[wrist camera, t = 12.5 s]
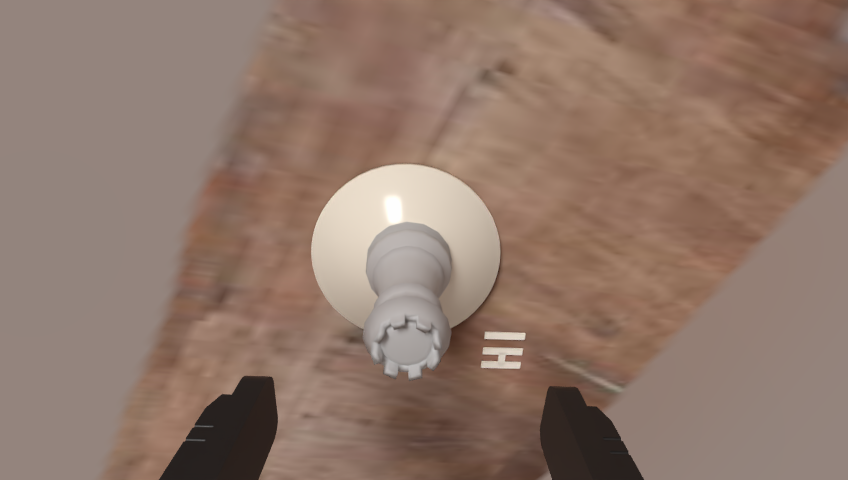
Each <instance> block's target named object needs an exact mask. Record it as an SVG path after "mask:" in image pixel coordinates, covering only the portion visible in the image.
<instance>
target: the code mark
mask: <svg viewBox="0 0 848 480" xmlns="http://www.w3.org/2000/svg"><path fill="white" fill-rule="evenodd" d="M484 339H504V340H525V333H513V332H485V336H484ZM522 352H523V348H494V347H483V353H482V354H490V355H499V356H498V361H481V368H508V369H520V365H521V362H506V361H505V356H506V355H522Z"/></svg>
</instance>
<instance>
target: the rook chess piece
mask: <svg viewBox="0 0 848 480" xmlns="http://www.w3.org/2000/svg"><path fill="white" fill-rule="evenodd" d="M451 263H452V258H451V253H450V249H449V245H448V244H447V243H446V241H445V240H444V239H443V237H442V236H441V235H440V234H439V232H437V231H435V230H434V229H432V228H430V227H428V226H426V225H425V224H420V223H413V222H403V223H399V224H395V225H391V226H389V227H387V228H386V229H384V230H383V231H382V232H380V233H379V234H378V235H376V236H375V238H374V240H373V241H372V243H371V245H370V247H369V248H368V252H367V262H366V275H367V278H368V281H369V284H370V286H371V289H372V290H373V291H374V293H375V294H376V295H377V296H378V299H377V300H376V302H375V303H374V309H373V310H372V312H371V313H370V315H369V317H368V318H367V320H366V321H365V323H364V331H363V340H364V343H365V345H366V348H367V351H368V353H369V354H370V355H371V357H372V359H373V362H374V365H375V364H378V363H380V364H382V365H384V371H383V374H385V375H387V376H389V377H391V378H393V379H396V377H397V374H398V371H401V372H409V381H411V380H415V379H420V378H422V369H425V368H427V367H429V368H430V369H431V370H433V371H434V370H435V368H436V367H437V366H438V364H439V363H440V362H441V357H442V356H443V354H444V353H445V352H446V350H447V349H448V348H449V343H450V338H451V329H450V325H449V321H448V318H447V317H446V316H445V315H444V313H443V311H442V307H441V303H440V300H439V299H438V298H440V296H441V295H442V293H443V292H444V290H445V289H446V287H447V286H448V284H449V282H450V277H451V271H452V264H451Z"/></svg>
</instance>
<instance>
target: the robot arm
mask: <svg viewBox="0 0 848 480" xmlns="http://www.w3.org/2000/svg"><path fill="white" fill-rule="evenodd" d="M277 424H278V415H277V406H276V398H275V389H274V381H273V378H272V377H266V376H244V377H243V378H242V379H241V380H240V382H239V384H238V385H237V387H236V389H235V390H234V392H233V394H232V395H227V394H222V395H221V396H219V397H218V398H217V399H216V400H215V401H213V402H212V403H211V404H210V405H209V406H207V407H206V408H205V410H204V411H203V413H202V414H201V416H200V417H199V419H198V420H197V422H196V423H195V427H194V428H192V430H191V431H190V433H189V434H188V436H187V437H186V441H185V442H183V443H182V445H181V447H180V448H179V450H178V451H177V453H176V454H175V456H174V457H173V459H172V460H171V462H170V463H169V465H168V467H167V468H166V470H165V471H164V473H163V474H162V476H161V477H160V479H159V480H258V479H259V477H260V474H261V472H262V469H263V467H264V464H265V462H266V459H267V457H268V454H269V452H270V449H271V447H272V444H273V442H274V439H275V435H276V431H277ZM540 439H541V445H542V449H543V453H544V456H545V459H546V462H547V465H548V468H549V471H550V474H551V477H552V480H644V479H643V477H642V476H641V474H640V472H639V470H638V468H637V466H636V464H635V463H634V461H633V459H632V457H631V456H630V455H629V454H628V450H627V448H626V446H625V445H624V443H623V441H621V437H620V436H619V434H618V432H617V430H616V428H615V426H614V425H613V423H612V421H611V420H610V419H609V418H608V417H607V416H606V415H605V414H604V413H603V412H602V411H600V410H599V409H598V408H597V407H592V406H587V405H586V403H585V401H584V399H583V397H582V395H581V393H580V391H579V390H578V388H576V387H557V386H550V387H549V388H548V391H547V395H546V400H545V405H544V410H543V415H542V420H541V425H540Z"/></svg>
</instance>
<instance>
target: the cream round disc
mask: <svg viewBox="0 0 848 480" xmlns="http://www.w3.org/2000/svg"><path fill="white" fill-rule="evenodd" d="M403 222H413V223H420V224H425V225H426V226H428V227H430V228H432V229H434V230H435V231H437V232H439V234H440V235H441V236H442V237H443V239H444V240H445V241H446V243H447V244H448V245H449V249H450V253H451V258H452V263H451V264H452V271H451V277H450V282H449V284H448V286H447V287H446V289H445V290H444V292H443V293H442V295H441V296H440V298H438V299H439V300H440V303H441V307H442V311H443V313H444V315H445V316H446V317H447V318H448V321H449V325H450V328H452V327H454V326H456V325H458V324H459V323H461V322H462V321H464V320H465V319H467V318H468V317H469V316H470V315H471V314H473V313H474V312H475V311H476V310H477V309H478V308H479V306H480V305H481V304H482V303H483V302H484V300H485V299H486V297H487V296H488V294H489V293H490V291H491V289H492V287H493V285H494V282H495V280H496V277H497V274H498V269H499V264H500V241H499V236H498V232H497V228H496V225H495V223H494V220H493V218H492V216H491V214H490V212H489V211H488V209H487V207H486V205H485V204H484V202H483V201H482V200H481V198H480V197H479V196H478V195H477V194H476V193H475V192H474V191H473V190H472V189H471V188H470V187H469V186H468V185H467V184H465V183H464V182H463V181H461V180H460V179H459V178H457V177H455V176H453V175H452V174H450V173H448V172H446V171H443V170H440V169H438V168H435V167H431V166H427V165H423V164H414V163H396V164H389V165H383V166H380V167H376V168H373V169H370V170H368V171H366V172H364V173H361V174H359V175H358V176H356V177H354V178H353V179H351V180H350V181H348V182H347V183H346V184H345V185H343V186H342V187H341V188H340V189H339V190H338V191H337V192H336V193H335V194H334V195H333V196H332V198H331V199H330V200H329V202H328V203H327V205H326V206H325V208H324V209H323V211H322V212H321V215H320V217H319V219H318V221H317V223H316V226H315V230H314V233H313V239H312V248H311V257H312V265H313V270H314V273H315V277H316V280H317V282H318V284H319V287H320V289H321V290H322V292H323V294H324V295H325V297H326V299H327V300H328V301H329V302H330V304H331V305H332V306H333V307H334V308H335V309H336V310H337V311H338V312H339V313H340V314H341V315H342V316H343V317H345V318H346V319H347V320H349V321H350V322H351V323H353V324H355V325H357V326H358V327H360V328H362V329H364V323H365V321H366V320H367V318H368V317H369V315H370V313H371V312H372V310H373V309H374V303H375V302H376V300H377V299H378V296H377V295H376V294H375V293H374V291H373V290H372V289H371V286H370V284H369V281H368V278H367V275H366V262H367V252H368V248H369V247H370V245H371V243H372V241H373V240H374V238H375V236H376V235H378V234H379V233H380V232H382V231H383V230H384V229H386V228H387V227H389V226H391V225H395V224H399V223H403Z"/></svg>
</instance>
